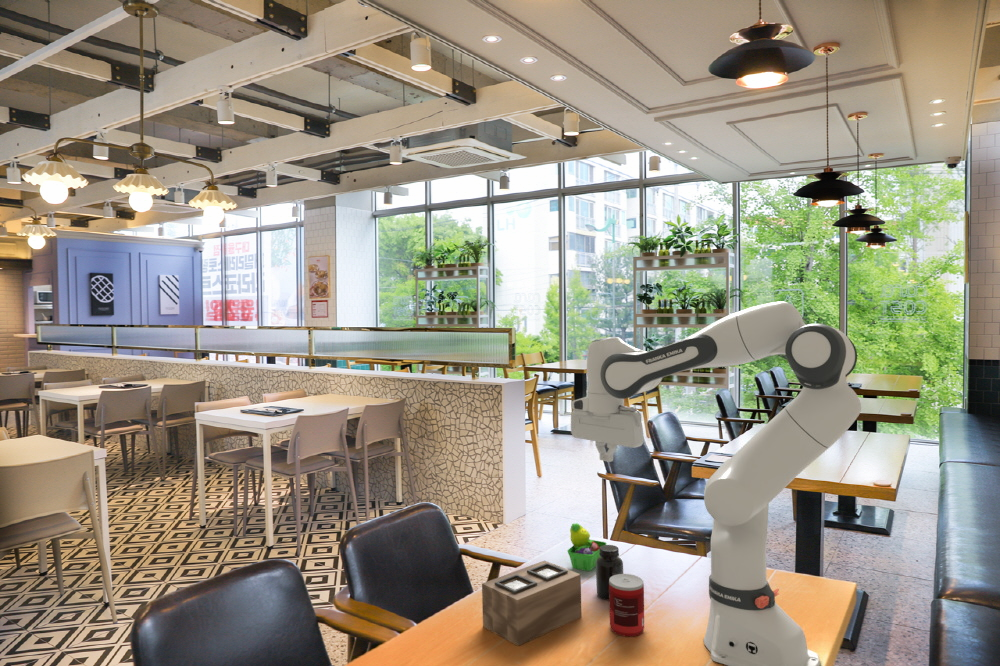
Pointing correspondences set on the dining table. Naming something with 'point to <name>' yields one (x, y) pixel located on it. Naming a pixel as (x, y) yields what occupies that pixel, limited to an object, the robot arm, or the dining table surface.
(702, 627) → the dining table surface
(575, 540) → the fruit basket
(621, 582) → the canned food
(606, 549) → the supplement bottle
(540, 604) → the socket block
